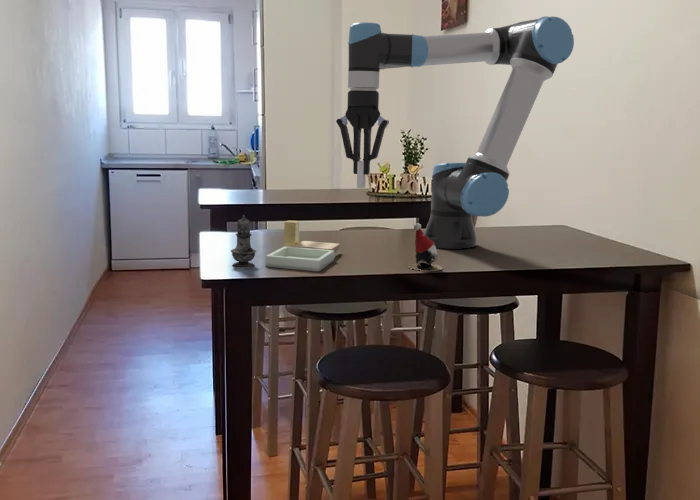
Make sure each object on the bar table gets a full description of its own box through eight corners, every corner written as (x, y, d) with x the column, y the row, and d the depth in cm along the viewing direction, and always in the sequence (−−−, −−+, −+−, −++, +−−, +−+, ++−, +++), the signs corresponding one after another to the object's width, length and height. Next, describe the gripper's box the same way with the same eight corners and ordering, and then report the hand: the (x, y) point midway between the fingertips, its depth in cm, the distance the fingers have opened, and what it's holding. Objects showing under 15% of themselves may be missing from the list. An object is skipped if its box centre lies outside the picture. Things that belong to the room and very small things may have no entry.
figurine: (459, 253, 169) (431, 224, 163) (438, 287, 167) (409, 259, 161) (436, 247, 176) (408, 219, 170) (416, 280, 174) (387, 253, 167)
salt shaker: (231, 262, 168) (231, 212, 165) (256, 263, 168) (257, 213, 166) (229, 268, 162) (229, 216, 160) (255, 268, 162) (256, 216, 160)
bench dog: (298, 251, 184) (299, 221, 182) (295, 253, 181) (295, 222, 179) (287, 250, 184) (288, 220, 183) (283, 252, 182) (284, 221, 180)
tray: (334, 260, 174) (334, 250, 174) (319, 271, 162) (319, 260, 161) (284, 256, 177) (284, 246, 177) (265, 266, 165) (265, 255, 165)
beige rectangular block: (339, 255, 183) (340, 243, 183) (331, 260, 176) (331, 249, 175) (303, 251, 186) (303, 240, 185) (293, 257, 178) (293, 245, 178)
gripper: (392, 90, 173) (389, 187, 177) (341, 90, 176) (339, 185, 180) (386, 89, 166) (383, 190, 170) (333, 89, 169) (331, 187, 173)
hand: (361, 187), depth 175 cm, fingers closed
